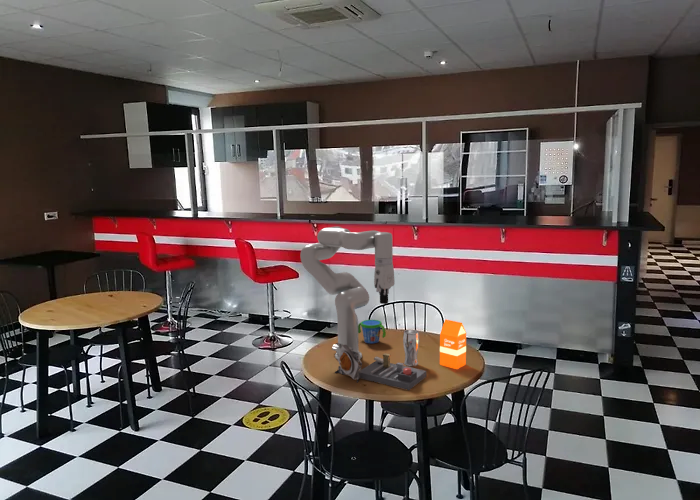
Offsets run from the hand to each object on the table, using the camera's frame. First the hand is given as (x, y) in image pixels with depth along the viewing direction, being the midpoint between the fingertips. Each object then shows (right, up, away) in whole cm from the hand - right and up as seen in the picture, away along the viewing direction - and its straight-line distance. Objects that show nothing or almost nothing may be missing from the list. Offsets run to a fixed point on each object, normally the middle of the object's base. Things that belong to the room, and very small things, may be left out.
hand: (383, 303), depth 225 cm
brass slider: (+1, -27, -2) cm, 27 cm away
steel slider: (+6, -28, -7) cm, 29 cm away
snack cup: (-4, -24, +39) cm, 46 cm away
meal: (-16, -31, -5) cm, 35 cm away
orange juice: (+31, -28, +7) cm, 42 cm away
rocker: (-1, -25, +2) cm, 25 cm away
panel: (+3, -30, -6) cm, 31 cm away
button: (+8, -28, -14) cm, 33 cm away
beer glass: (+13, -28, +8) cm, 32 cm away
